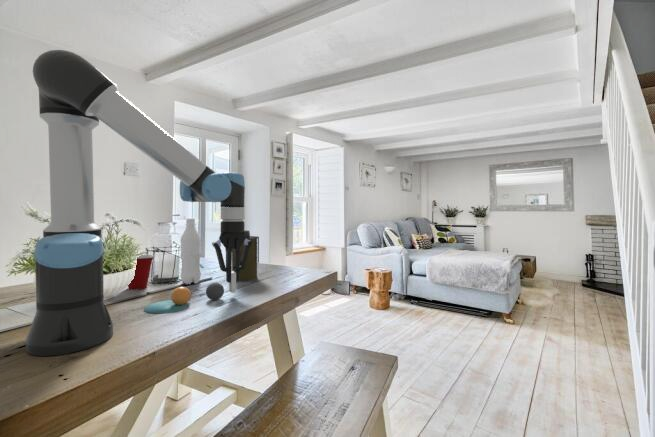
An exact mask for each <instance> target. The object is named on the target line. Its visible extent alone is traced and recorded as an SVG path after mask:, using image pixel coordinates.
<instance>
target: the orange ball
mask: <svg viewBox="0 0 655 437" xmlns="http://www.w3.org/2000/svg"><path fill="white" fill-rule="evenodd" d="M191 295H192V294H191V291H190V289H189V288H187V287H186V286H178V287H175V289H173V290H172V292H171V294H170V299H171V300H172V302H173V303H174V304H176V305H184V304H186V303H187V302H188V303H189V302H190V300H191Z"/></svg>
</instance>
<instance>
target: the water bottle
mask: <svg viewBox="0 0 655 437" xmlns="http://www.w3.org/2000/svg"><path fill="white" fill-rule="evenodd" d="M201 241H202V240H201V236H200V234H199V232H198V230H197V229H196V219H195V218H186V223H185V230H184V232H182V235H181V237H180V259H181V272H180V280H181V283H182V284H184V283H185V285H188V284H189V285H191V284H192V283H193V284H198V283H199V282H200V279H201V277H202V272H201V267H200V261H201V257H202V256H201V255H202V254H201Z"/></svg>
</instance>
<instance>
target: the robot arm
mask: <svg viewBox="0 0 655 437" xmlns="http://www.w3.org/2000/svg"><path fill="white" fill-rule="evenodd" d="M32 75H33V76H32V77H33V79H34V81H35V84H36V85H37V89H38V106H39V107H38V108H39V117H40V119H42V120H43V121H44V122H45V123H46V124H47V126H48V156H49V158H48V160H49V190H50V191H49V192H50V193H49V195H50V223H49V225H47V226H46V227H45V228H43V229H42V235H43V236H42V237H41V238H40V239H38V240H37V241H36V243H35V246H34V251H33V258H34V263H35V267H34V268H35V304H36V306H35V307H36V309H35V310H36V312H35V315H34V317H33V319H32V322H31V326H30V328H29V330H28V334H27V335H26V338H25V352H26V353H27V354H29V355H32V356H37V357H38V356H41V357H45V356H46V357H49V356H58V355H65V354H70V353H71V354H72V353H75V352H79V351H83V350H86V349H90V348H93V347H95V346H98V345H100V344H102V343H104V342H106V341H107V340H109V339H110V338H111V337H112V336H113V335H114V324H113V321H112V318H111V316H110V313H109V311H108V309H107V306H106V305H105V300H104V253H105V248H104V245H103V240H102V239H103V237H102V236H103V235H102V227H101V226H100V225H98V224H97V223H96V222H95V200H94V199H95V198H94V194H95V192H94V160H93V158H94V156H93V155H94V154H93V153H94V152H93V129H95V128H96V127H98V126H99V124H100V121H101V123H103V124H105V125H106V127H108V128H110V129H111V130H113V131H114V132H115V133H117V134H118V135H119V136H121V137H122V138H123V139H125V140H126V141H127V142H128V143H130V144H131V145H132V146H134V147H135V148H136V149H138V150H139V151H140V152H142V153H144V155H146V156H147V157H148V158H150V160H153V161H154V162H156V164H158V165H159V166H160V167H162V168H163V169H164V170H166V171H167V172H168V173H170V174H171V175H172V176H174V178H176V179H178V180H179V181H180V182H179V197H180V199H181V200H182V201H183V202H187V203H188V202H189V203H195V202H196V203H206V202H207V203H220V220H221V222H220V233H219V234H220V235H219V237H218V239H217V240H216V241H213V242H212V243H211V245H212V247H213V248H214V249H215V254H216V257H217V261H218V266H219V268H220V271H221V272H223V273H225V280H226V282H227V283H228V287H229V288H228V289H229V290H228V291H229V292H230V293H232V294H234V293H237V283H238V282H237V281H239V272H240V270H244V269H245V265H246V260H247V256H248V252H249V248H250V246H251V245H252V241H249V240H248V239H246V236H245V234H244V231H245V221H243V220H245V191H246V190H245V189H246V187H245V186H246V185H245V177H244V175H243V173H239V172H222V173H218V172H215V171H214V170H213V169H212V168H211V167H209V166H207V164H206V163H204V162H203V161H202V160H200V158H198V157H197V156H196V155H195V154H193V153H192V152H191V151H189V150H188V148H186V147H185V146H184V145H183V144H181V143H180V142H179V141H178V140H176V138H174V137H173V136H172V135H171V134H169V133H168V132H167V131H165V130H164V129H163V128H162V127H160V125H159V124H157V123H156V122H155V121H154V120H152V119H151V118H150V117H149V116H147V115H146V113H144V112H143V111H142V110H140V109H139V108H138V107H136V106H135V105H134V104H133V103H132V102H131V101H129V100H128V99H127V98H126V97H124V96H123V95H122V94H121V93H119V90H118V85H117V84H116V83H114V81H112V80H111V79H110V78H108V77H107V76H106V75H105V74H104V73H103V72H101V70H99V69H98V68H96V66H94V65H93V64H92V63H91V62H90V61H88V60H87V59H85V58H84V57H82V56H81V55H78V54H77V53H74V52H72V51H68V50H64V49H53V50H52V49H51V50H50V49H49V50H47V51H45V52H43V53H41V54H40V55H39V56H38V57H37V58H36V59H35V61H34V63H33V66H32ZM243 242H244V247H243V252H242V256H241V260H240V264H239V252H240V247H241V245H242V244H243ZM222 245H223V247H224V248H225V260H224V255H223V253H222V252H223V251H222V249H221V246H222ZM232 249H233V251H234V271H232Z"/></svg>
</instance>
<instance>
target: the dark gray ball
mask: <svg viewBox="0 0 655 437" xmlns="http://www.w3.org/2000/svg"><path fill="white" fill-rule="evenodd" d="M224 294H225V289H224V286H223V285H222V284H221V283H220V282H213V283H212V282H211V283H210V284H208V286H207V288H206V290H205V295H206V297H207V298H208V299H209V300H210V301H211V300H212V301H217V300H220V299H221V298H222V297H223V296H224Z"/></svg>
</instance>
